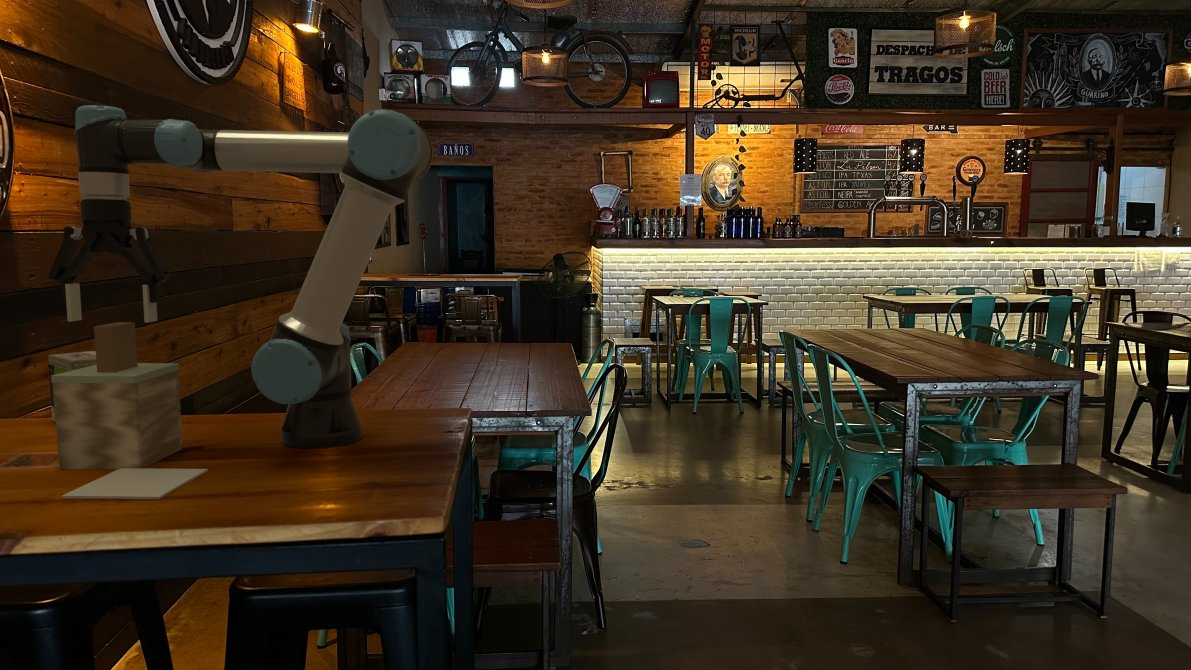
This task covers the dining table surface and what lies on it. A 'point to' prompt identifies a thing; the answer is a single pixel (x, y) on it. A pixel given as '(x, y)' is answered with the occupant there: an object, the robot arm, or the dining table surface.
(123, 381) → the lid
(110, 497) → the mat
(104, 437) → the crate
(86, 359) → the tea box
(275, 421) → the dining table surface
